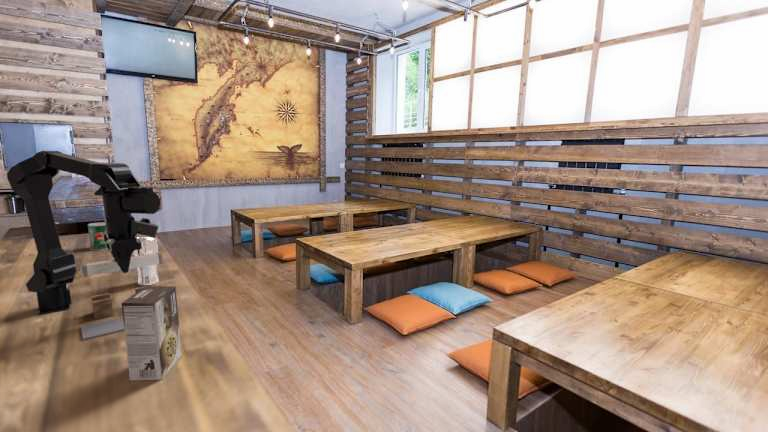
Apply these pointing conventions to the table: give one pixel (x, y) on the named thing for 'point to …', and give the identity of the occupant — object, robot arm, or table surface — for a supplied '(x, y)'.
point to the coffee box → (151, 332)
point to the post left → (102, 306)
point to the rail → (112, 265)
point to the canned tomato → (97, 236)
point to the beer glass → (148, 272)
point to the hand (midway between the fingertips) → (124, 271)
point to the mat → (102, 328)
